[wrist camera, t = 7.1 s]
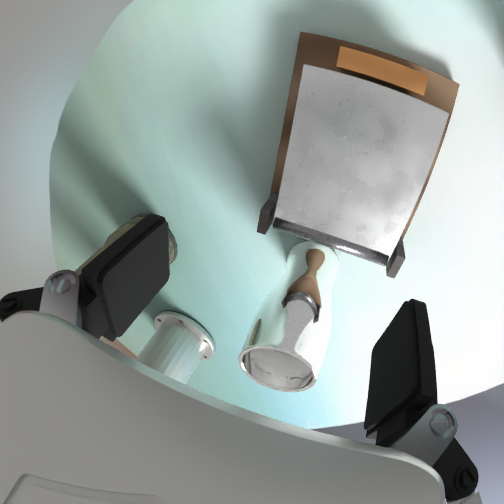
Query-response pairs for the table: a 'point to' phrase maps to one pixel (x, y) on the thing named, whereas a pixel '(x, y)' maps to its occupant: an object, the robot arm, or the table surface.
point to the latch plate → (371, 69)
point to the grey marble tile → (355, 163)
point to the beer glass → (293, 322)
